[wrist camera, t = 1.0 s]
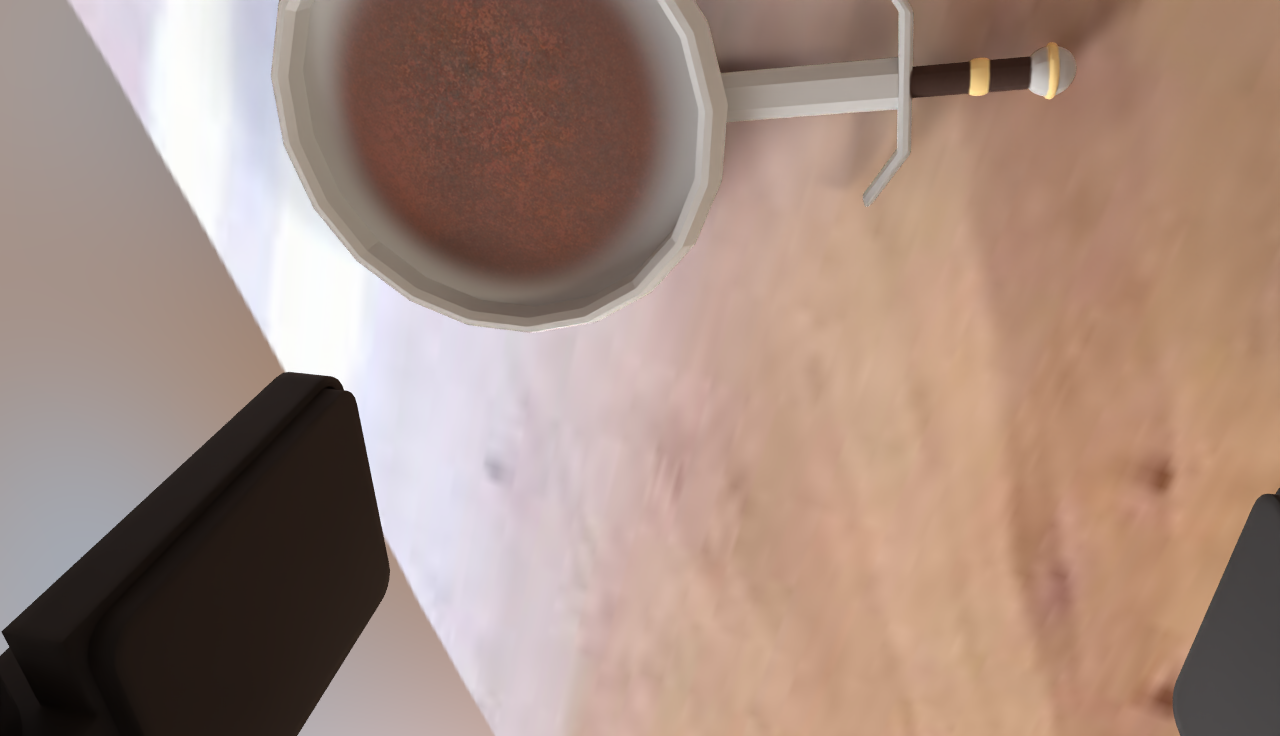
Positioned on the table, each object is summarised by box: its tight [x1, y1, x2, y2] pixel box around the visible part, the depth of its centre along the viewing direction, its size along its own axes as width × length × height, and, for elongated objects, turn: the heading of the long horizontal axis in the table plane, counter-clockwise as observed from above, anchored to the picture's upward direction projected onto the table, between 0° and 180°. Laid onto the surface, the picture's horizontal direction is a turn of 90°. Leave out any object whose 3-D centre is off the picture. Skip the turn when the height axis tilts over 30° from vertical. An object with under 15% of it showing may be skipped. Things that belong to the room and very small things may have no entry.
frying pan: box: [271, 0, 1076, 333], centre depth 31 cm, size 17×3×28 cm
